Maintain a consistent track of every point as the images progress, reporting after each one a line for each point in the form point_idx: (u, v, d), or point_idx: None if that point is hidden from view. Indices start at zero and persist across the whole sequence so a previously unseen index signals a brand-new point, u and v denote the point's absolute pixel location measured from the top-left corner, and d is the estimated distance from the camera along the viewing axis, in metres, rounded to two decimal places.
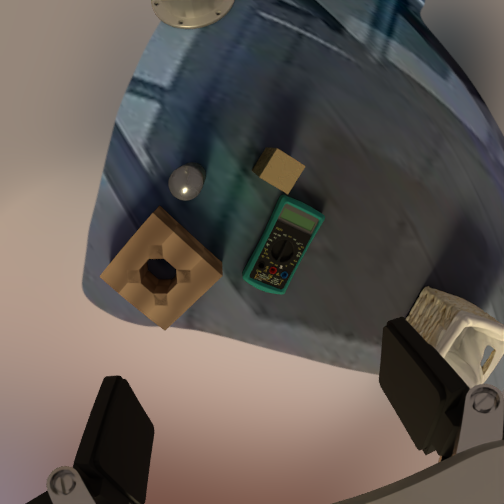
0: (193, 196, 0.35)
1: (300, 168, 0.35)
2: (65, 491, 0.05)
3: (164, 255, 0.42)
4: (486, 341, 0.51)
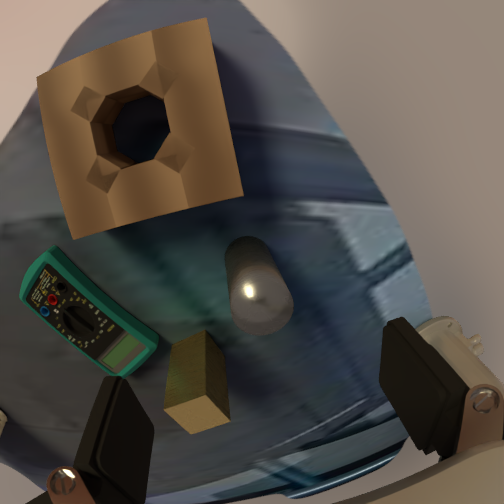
0: (234, 309, 0.19)
1: (191, 430, 0.23)
2: (64, 491, 0.05)
3: (157, 163, 0.19)
4: None
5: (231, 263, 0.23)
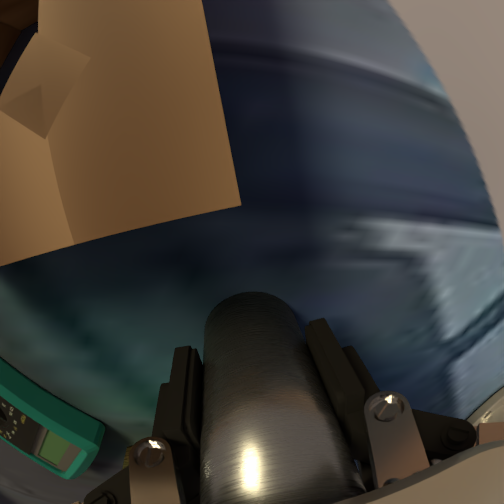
0: None
1: None
2: (147, 461, 0.06)
3: (1, 119, 0.05)
4: None
5: (210, 375, 0.09)
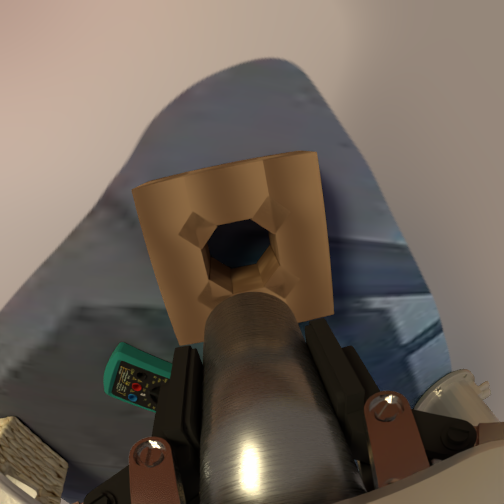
0: None
1: None
2: (147, 461, 0.06)
3: (267, 290, 0.23)
4: None
5: (210, 376, 0.09)
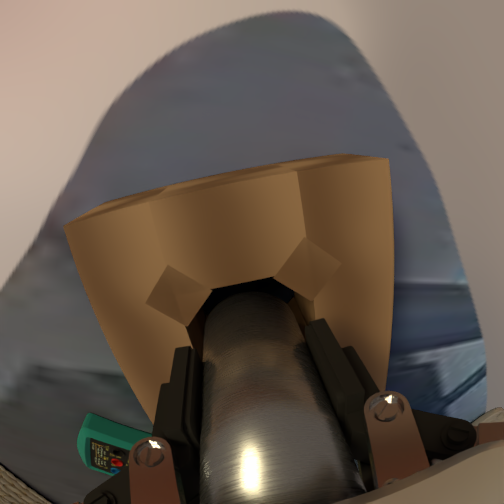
0: None
1: None
2: (147, 461, 0.06)
3: None
4: None
5: (210, 375, 0.09)
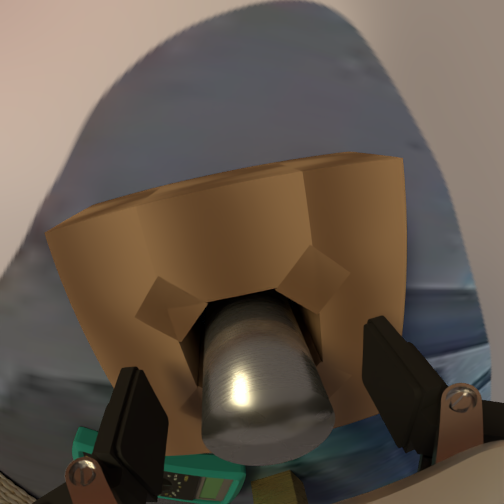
0: (207, 435, 0.08)
1: None
2: (83, 482, 0.05)
3: None
4: None
5: (212, 317, 0.12)
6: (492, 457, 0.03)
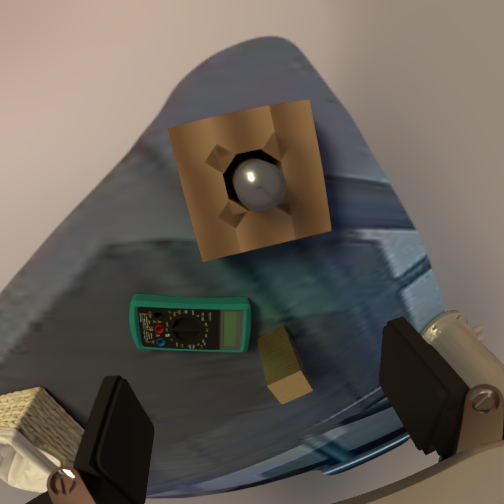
0: (238, 186, 0.24)
1: (283, 401, 0.32)
2: (64, 491, 0.05)
3: (275, 208, 0.29)
4: (5, 456, 0.35)
5: (236, 167, 0.28)
6: (492, 457, 0.03)
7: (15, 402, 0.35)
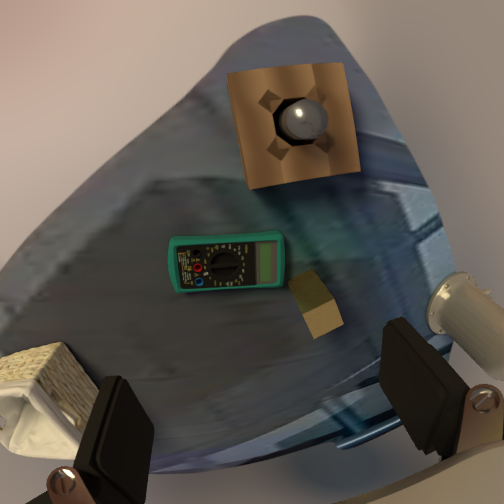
0: (290, 116, 0.27)
1: (315, 334, 0.35)
2: (64, 491, 0.05)
3: (315, 146, 0.32)
4: (9, 419, 0.38)
5: (282, 111, 0.31)
6: (492, 457, 0.03)
7: (32, 357, 0.38)
